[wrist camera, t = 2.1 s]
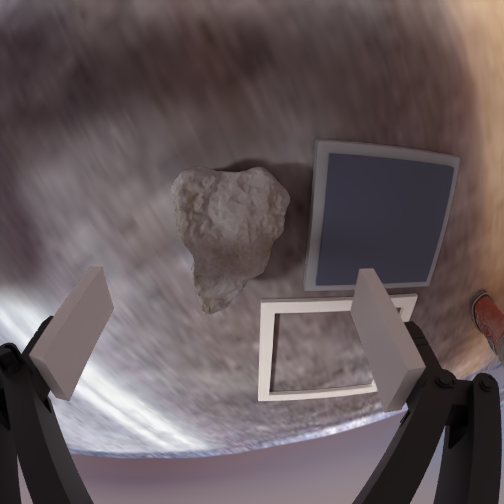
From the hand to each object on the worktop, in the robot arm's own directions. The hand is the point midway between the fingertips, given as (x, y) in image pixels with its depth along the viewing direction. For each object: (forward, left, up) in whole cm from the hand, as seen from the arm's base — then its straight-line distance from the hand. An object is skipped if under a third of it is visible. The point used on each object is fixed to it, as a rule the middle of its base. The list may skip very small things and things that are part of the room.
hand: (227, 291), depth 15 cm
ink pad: (+12, 0, -9) cm, 15 cm away
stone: (-1, 0, -9) cm, 9 cm away
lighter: (+29, -11, -9) cm, 32 cm away
